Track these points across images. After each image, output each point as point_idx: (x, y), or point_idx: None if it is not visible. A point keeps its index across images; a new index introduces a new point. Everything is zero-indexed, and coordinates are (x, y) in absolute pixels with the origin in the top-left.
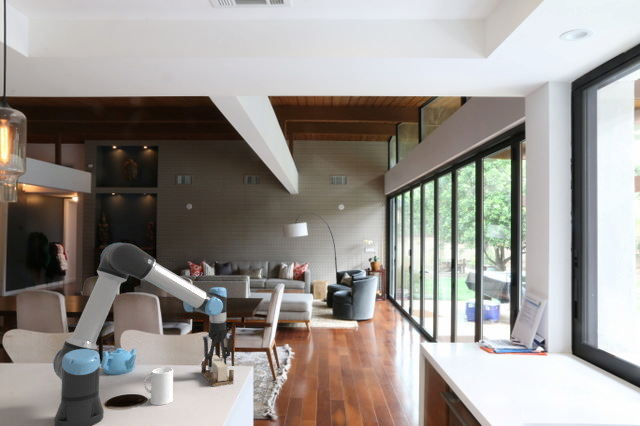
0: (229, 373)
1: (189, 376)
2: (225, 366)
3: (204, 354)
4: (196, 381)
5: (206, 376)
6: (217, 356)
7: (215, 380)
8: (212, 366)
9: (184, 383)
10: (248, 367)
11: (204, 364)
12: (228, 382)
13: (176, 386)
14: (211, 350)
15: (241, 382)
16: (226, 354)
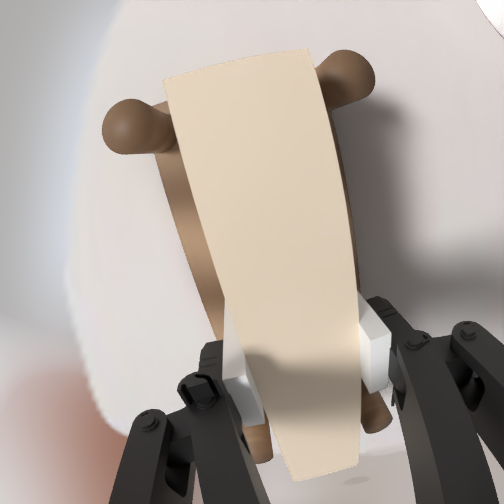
0: (157, 112)
1: (428, 329)
2: (191, 73)
3: (484, 385)
4: (415, 230)
5: (359, 284)
6: (290, 466)
7: None
8: None
9: (468, 208)
10: (104, 416)
11: (373, 405)
12: None
13: (495, 168)
14: (470, 429)
15: (90, 143)
16: (187, 437)
